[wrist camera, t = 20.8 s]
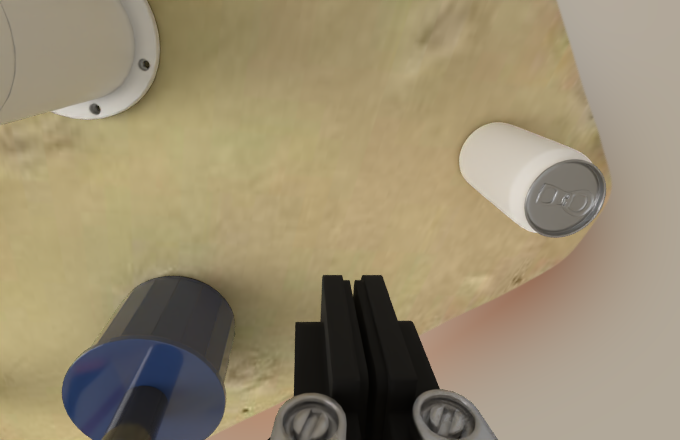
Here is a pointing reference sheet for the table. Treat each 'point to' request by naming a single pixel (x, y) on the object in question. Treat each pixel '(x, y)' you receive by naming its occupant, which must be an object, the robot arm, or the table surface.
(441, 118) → the table surface
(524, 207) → the can
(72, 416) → the lid
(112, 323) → the cup
